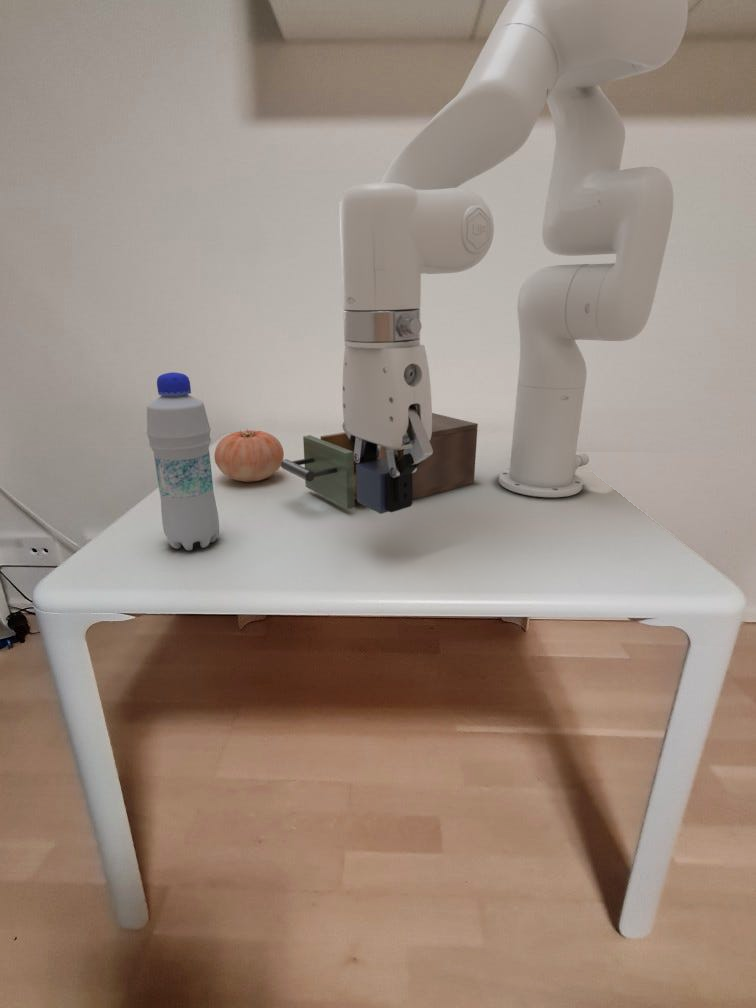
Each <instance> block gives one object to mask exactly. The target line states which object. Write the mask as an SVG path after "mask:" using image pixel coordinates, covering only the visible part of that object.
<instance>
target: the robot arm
mask: <svg viewBox="0 0 756 1008" xmlns="http://www.w3.org/2000/svg"><path fill="white" fill-rule="evenodd" d="M688 15H689V1H688V0H508V1H507V3H506V5H504V8H503V10H502V11H501V13H500V15H499V17H498V19H497V21H496V23H495V24H494V26H493V28H492V30H491V32H490V34H489V36H488V38H487V40H486V42H485V44H484V46H483V47H482V49H481V51H480V53H479V55H478V57H477V59H476V61H475V62H474V64H473V66H472V68H471V70H470V72H469V73H468V76H467V78H466V79H465V82H464V83H463V86H462V87H461V89H460V91H459V92H458V93H457V94H456V95H455V97H453V98H452V99H451V100H450V101H449V102H448V103H447V104H446V105H444V107H442V108H441V109H440V110H439V111H437V113H436V114H435V115H434V116H433V117H432V118H431V119H430V120H429V121H428V122H427V123H426V124H425V125H424V127H422V128H421V129H420V130H419V131H418V133H416V134H415V135H414V136H413V137H412V138H411V139H410V140H409V141H408V142H407V143H406V144H405V145H404V146H403V147H402V149H400V150H399V152H398V153H397V154H396V156H395V157H394V158H393V160H392V161H391V162H390V163H389V164H388V166H387V168H386V169H385V171H384V174H383V175H382V176H381V178H380V181H378V182H369V183H368V182H367V183H360V184H356V185H353V186H350V187H348V188H347V189H345V191H344V192H343V193H342V194H341V197H340V200H339V207H338V210H339V237H340V238H339V239H340V242H339V243H340V265H341V267H340V268H341V289H342V290H341V291H342V310H343V311H342V314H343V315H342V316H343V338H344V353H343V365H342V394H341V395H342V415H343V423H342V426H341V427H342V430H343V432H345V433H346V435H347V436H348V438H349V439H350V443H351V445H352V447H353V449H354V460H355V462H356V463H359V464H362V463H366V462H370V461H374V460H378V459H377V458H379V454H380V447H381V446H383V447H386V453H387V460H388V466H389V473H390V475H388V476H386V510H387V511H388V512H389V513H394V512H398V511H400V510H404V509H407V508H410V507H412V505H413V500H412V477H413V473H414V472H416V470H417V467H418V465H419V464H420V463H421V462H422V461H423V460H425V459H426V458H427V457H429V456H430V455H432V453H433V449H432V446H431V444H430V439H431V435H432V413H433V407H432V406H433V404H432V387H431V376H430V367H429V362H428V356H427V350H426V345H424V344H421V331H422V322H421V298H422V297H421V294H422V293H421V291H422V289H421V287H422V285H421V283H422V281H421V280H422V274H423V275H425V274H427V275H439V274H440V275H441V274H443V275H444V274H455V273H461V272H464V271H467V270H469V269H472V268H473V267H475V266H476V265H478V264H479V263H480V262H482V260H483V259H484V258H485V257H486V255H487V254H488V251H489V250H490V248H491V246H492V243H493V240H494V232H495V223H494V218H493V214H492V212H491V210H490V207H489V206H488V204H487V202H486V201H485V200H484V199H483V198H482V197H481V196H479V194H477V193H476V192H474V191H471V190H469V189H466V188H462V187H460V186H462V185H464V184H465V183H467V182H468V181H471V180H473V179H474V178H476V177H479V176H481V175H482V174H484V173H487V172H488V171H489V170H492V169H493V168H495V167H497V166H498V165H500V164H501V163H503V162H504V161H506V160H507V159H509V158H510V157H511V156H513V155H514V154H515V153H516V152H518V151H520V149H522V147H523V146H524V145H525V143H526V142H527V141H528V139H529V137H530V136H531V133H532V131H533V129H534V127H535V126H536V123H537V121H538V119H539V117H540V115H541V113H542V111H543V109H544V107H545V105H546V104H547V107H548V110H549V113H550V116H551V119H552V123H553V128H554V133H555V146H554V153H553V162H552V167H551V172H550V179H549V184H548V189H547V190H548V191H547V195H546V196H547V197H546V201H545V207H544V216H543V221H542V231H541V232H542V242H543V245H544V246H545V248H546V249H547V251H549V252H550V253H553V254H554V255H558V256H569V257H577V256H578V257H580V256H597V255H598V256H600V255H615V262H611V263H591V264H590V263H582V264H581V263H579V264H577V263H576V264H558V265H550V266H546V267H543V268H540V269H537V270H535V271H534V272H532V273H531V274H529V275H528V276H527V277H526V278H525V279H524V281H523V283H522V284H521V286H520V289H519V292H518V295H517V307H516V308H517V319H518V330H519V364H518V377H517V387H516V396H515V397H516V398H515V407H514V408H515V409H514V420H513V431H512V439H511V453H510V463H509V468H506V469H504V470H502V471H501V472H500V473H499V475H498V484H500V485H501V487H503V488H504V489H506V490H508V491H510V492H513V493H517V494H520V495H524V496H529V497H536V498H564V497H570V496H574V495H576V494H578V493H580V492H581V491H582V490H583V484H584V481H583V479H582V478H581V477H580V476H578V475H576V470H577V469H578V468H580V467H583V466H586V465H588V464H589V463H590V458H589V456H588V454H586V453H580V454H577V448H578V442H579V434H580V426H581V418H582V412H583V404H584V397H585V396H584V395H585V389H586V384H587V375H588V374H587V373H588V372H587V366H586V365H587V364H586V361H585V359H584V355H583V354H582V352H581V350H580V348H579V346H578V344H577V342H576V341H577V340H580V341H581V340H582V341H598V342H599V341H600V342H625V341H629V340H632V339H634V338H636V337H638V336H639V335H640V334H641V332H642V331H643V330H644V328H645V327H646V325H647V323H648V320H649V318H650V315H651V313H652V308H653V305H654V300H655V296H656V292H657V287H658V283H659V278H660V274H661V270H662V266H663V262H664V257H665V252H666V248H667V243H668V240H669V235H670V231H671V224H672V219H673V213H674V191H673V185H672V181H671V179H670V177H669V175H668V174H667V173H666V172H665V171H664V170H663V169H661V168H658V167H655V166H638V167H632V168H624V169H621V163H622V159H623V152H624V147H625V141H626V129H625V125H624V122H623V120H622V118H621V115H620V114H619V112H618V110H617V108H616V107H615V105H613V103H612V102H611V101H610V99H608V97H607V96H606V94H605V93H604V92H603V90H602V88H601V86H600V85H604V84H608V83H612V82H615V81H619V80H623V79H626V78H630V77H634V76H637V75H641V74H646V73H649V72H652V71H655V70H658V69H659V68H661V67H662V66H664V65H666V64H667V63H668V62H669V61H670V60H671V59H672V58H673V56H674V55H675V54H676V52H678V51H677V50H678V49H679V47H680V45H681V43H682V40H683V38H684V35H685V32H686V29H687V23H688ZM402 441H403V443H402ZM370 442H371V444H370ZM402 450H403V451H404V456H403V457H402V458H401V459H400V460H398V453H397V452H398V451H402ZM357 465H358V464H357Z"/></svg>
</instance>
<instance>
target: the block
mask: <svg viewBox="0 0 756 1008" xmlns="http://www.w3.org/2000/svg"><path fill="white" fill-rule="evenodd" d="M388 475H390V473H389V466H388V460H387V458H383V459H378V460H374V461H370V462H366V463H362V464H358V465H356V478H357V500H356V501H357V502H356V503H359V504H360V505H362V506H364V507H366V508H368V509H370V510H372V511H374V512H376V513H378V514H380V515H382V514H386V513H388V512H389V511H387V510H386V476H388ZM412 481H413V477H412Z"/></svg>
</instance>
